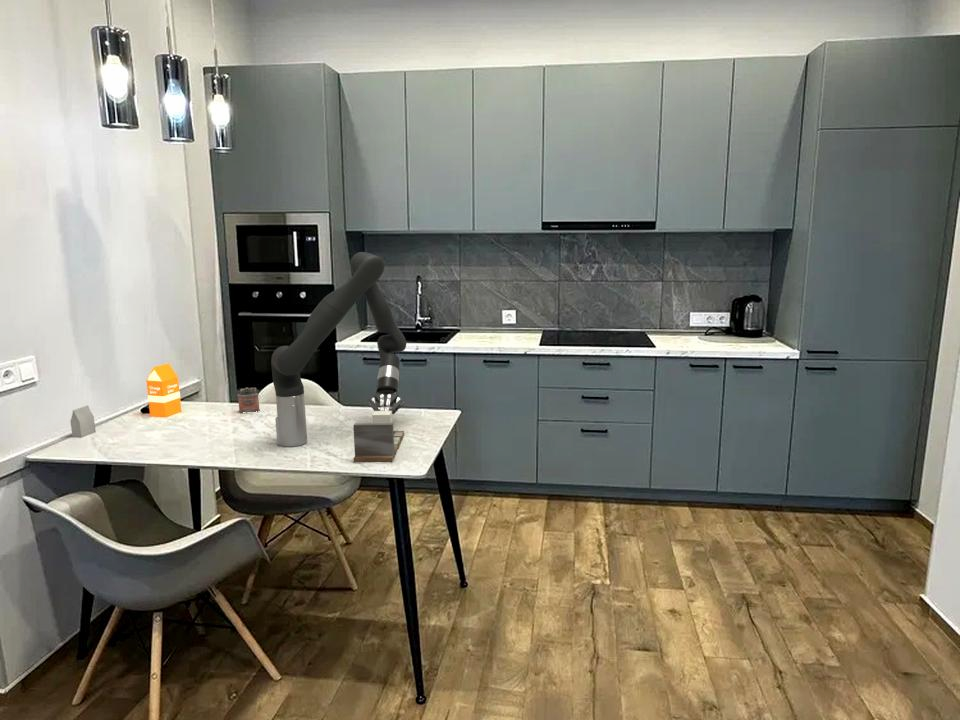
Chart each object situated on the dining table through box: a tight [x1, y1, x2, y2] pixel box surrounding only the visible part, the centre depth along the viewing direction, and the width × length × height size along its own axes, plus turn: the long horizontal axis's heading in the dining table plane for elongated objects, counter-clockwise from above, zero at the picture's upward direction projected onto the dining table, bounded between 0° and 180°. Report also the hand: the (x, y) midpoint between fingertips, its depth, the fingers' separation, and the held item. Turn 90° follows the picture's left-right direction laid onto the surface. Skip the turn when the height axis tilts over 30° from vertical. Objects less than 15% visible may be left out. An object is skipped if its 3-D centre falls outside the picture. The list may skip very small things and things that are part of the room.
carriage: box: [371, 410, 401, 438], centre depth 220 cm, size 7×9×9 cm
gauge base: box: [352, 421, 405, 463], centre depth 216 cm, size 28×12×12 cm, turn 179°
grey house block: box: [69, 405, 96, 439], centre depth 235 cm, size 4×7×10 cm, turn 169°
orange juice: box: [146, 363, 182, 418], centre depth 260 cm, size 8×9×20 cm
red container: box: [237, 387, 261, 414], centre depth 262 cm, size 8×3×10 cm, turn 101°
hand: (383, 423), depth 224 cm, fingers closed
